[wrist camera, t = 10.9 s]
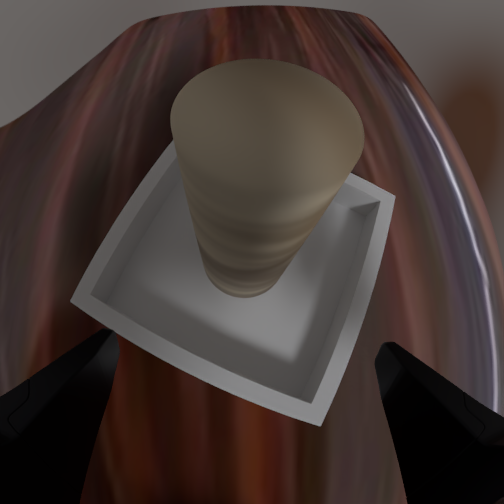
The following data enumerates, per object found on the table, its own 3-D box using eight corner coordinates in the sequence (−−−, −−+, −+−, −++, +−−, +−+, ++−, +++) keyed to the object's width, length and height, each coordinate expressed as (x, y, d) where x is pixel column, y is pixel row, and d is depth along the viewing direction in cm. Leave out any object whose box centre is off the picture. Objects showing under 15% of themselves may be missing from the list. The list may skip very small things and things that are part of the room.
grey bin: (304, 415, 16) (320, 426, 13) (92, 310, 17) (69, 301, 14) (375, 216, 21) (395, 196, 18) (198, 140, 22) (196, 111, 19)
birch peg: (235, 314, 17) (253, 238, 6) (187, 249, 18) (138, 99, 7) (300, 265, 18) (397, 140, 7) (251, 206, 19) (279, 45, 8)
